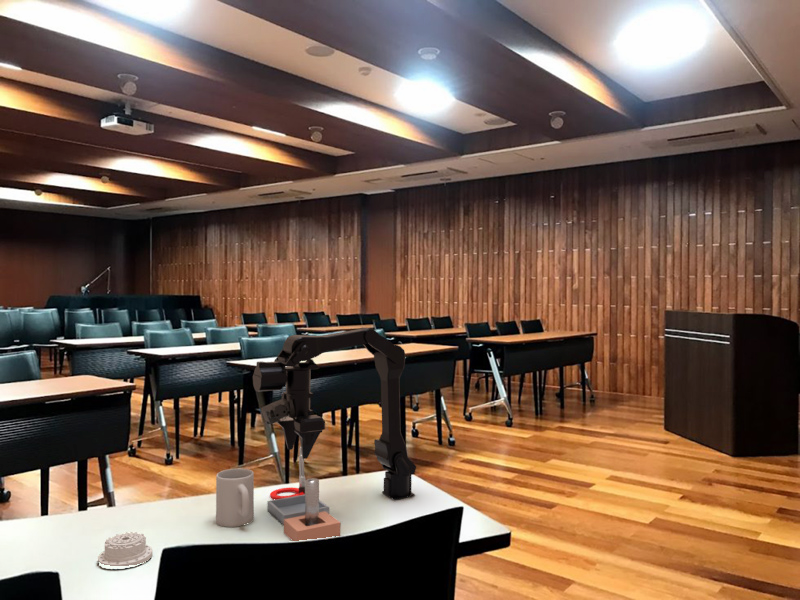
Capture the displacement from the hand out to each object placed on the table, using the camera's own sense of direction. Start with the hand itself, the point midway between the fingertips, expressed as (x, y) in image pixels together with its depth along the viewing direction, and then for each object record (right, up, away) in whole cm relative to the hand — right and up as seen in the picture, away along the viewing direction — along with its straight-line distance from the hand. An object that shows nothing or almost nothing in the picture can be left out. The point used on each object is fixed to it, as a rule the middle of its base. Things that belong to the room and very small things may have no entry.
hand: (297, 453), depth 151 cm
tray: (0, -15, +1) cm, 15 cm away
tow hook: (-5, -15, +14) cm, 21 cm away
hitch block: (+5, -15, -12) cm, 20 cm away
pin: (+5, -15, -12) cm, 20 cm away
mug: (-13, -15, -5) cm, 20 cm away
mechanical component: (-30, -15, -25) cm, 42 cm away
